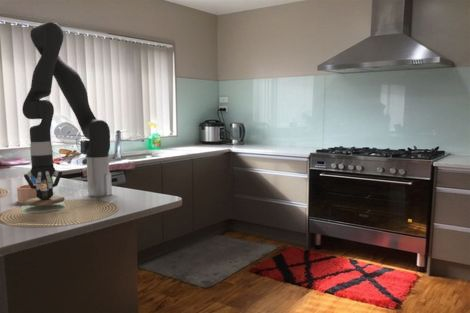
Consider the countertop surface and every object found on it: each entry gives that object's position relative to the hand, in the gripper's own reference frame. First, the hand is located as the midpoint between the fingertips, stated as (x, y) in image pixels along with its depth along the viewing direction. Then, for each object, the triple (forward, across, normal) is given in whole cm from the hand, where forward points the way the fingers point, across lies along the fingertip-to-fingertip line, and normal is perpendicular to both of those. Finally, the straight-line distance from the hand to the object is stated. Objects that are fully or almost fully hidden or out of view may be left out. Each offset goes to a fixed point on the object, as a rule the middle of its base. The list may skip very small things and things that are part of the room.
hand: (45, 198), depth 159 cm
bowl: (+4, +4, -16) cm, 17 cm away
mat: (+4, 0, 0) cm, 4 cm away
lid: (+1, 0, 0) cm, 1 cm away
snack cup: (+4, -1, -38) cm, 38 cm away
